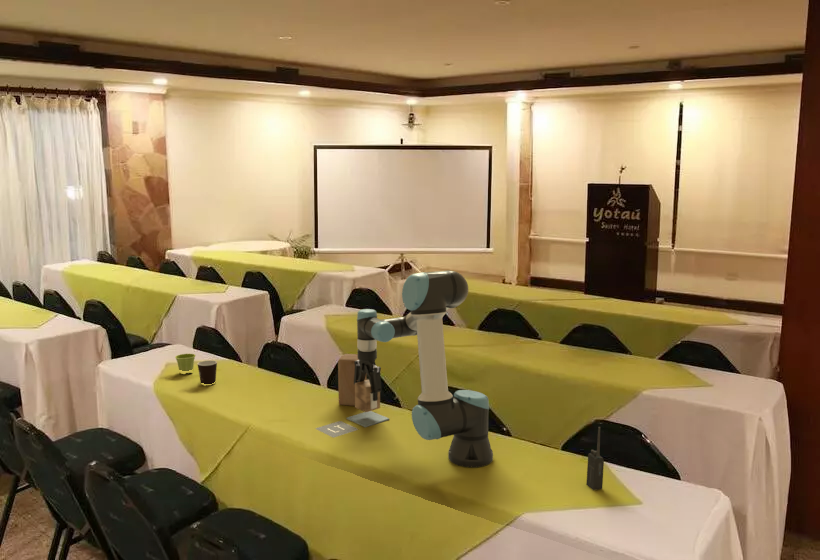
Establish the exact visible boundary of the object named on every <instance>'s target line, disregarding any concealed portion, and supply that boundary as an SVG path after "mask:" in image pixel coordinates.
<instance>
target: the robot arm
mask: <svg viewBox="0 0 820 560" xmlns="http://www.w3.org/2000/svg"><path fill="white" fill-rule="evenodd" d="M468 295H469V285H468V282H467V280H466V278H465V277H464V276H463V275H462V274H461V273H459V272H458V271H454V270H441V271H440V270H439V271H427V272H426V271H425V272H423V271H422V272H417V273H412V274H410V275H409V276H407V278H406V280H405V281H404V283H403V285H402V292H401V298H402V303H403V305H404V307H405V309H407V310H409V311H410V312H409V313H408V314H406V315H404V316H400V317H392V318H384V319H380V318H378V313H377V310H375V309H372V308H371V309H370V308H363V309H359V310H358V311H357V314H356V315H357V316H356V317H357V318H356V327H357V328H356V330H357V331H356V334H357V339H356V342H357V354H358V359H359V360H357V361H354V364H355V371H354V385H355V383H357V382H362V381H364V380H365V376H366V373H367V377H368V380H369V381H370V386H371V390H372V392H370V408H371V409H374V408H377V400H378V392H380V393H381V392H382V380H381V379H382V378H381V369H382V368H381V366H377V364H376V360H377V358H378V355H377V354H378V350H377V346H378V345H377V344H378V343H377V342H381V343H387V342H390V341H391V340H393V339H397V338H403V337H404V338H405V337H412V336H417V337H416V339H417V347H418V349H417V350H418V360H419V362H418V363H419V374H420V387H421V393H420V394H419V396H418V397H417V404H416V405H414V407H412V410H411V419H412V424H413V427H414V429H415V431H416V432H417V434H418V435H419V436H420V437H421V438H422V439H424V440H427V441H432V440H433V441H434V440H440V439H441V438H446V437H447V438H448V437H451V436H453V437H452V439H451V444H450V446H449V449H448V453H447V455H448V456H447V457H448V460H449V462H450V463H452V464H454V465H457V466H459V467H463V468H481V467H485V466H488V465H490V464H491V463H492V462H493V460H494V452H493V449H492V447H491V443H490V439H489V414H490V411H489V410H490V403H489V402H490V401H489V397H488V396H487V395H485V394H484V393H482V392H479V391H475V390H468V389H459V390H455V392H454V393H453V394H452V393H451V392H450V391H449V388H448V385H449V384H448V375H447V373H448V372H447V361H446V349H445V338H444V337H445V336H444V324H443V317H444V316H445V315H446V314H447V311H448V310H449V309H451V310H452V309H455V308H457V307H458V306H460V305H461V304H462V303H464V302H465V301H466V299H467V297H468ZM357 380H358V381H357ZM374 389H375V390H374Z"/></svg>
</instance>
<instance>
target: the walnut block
mask: <svg viewBox="0 0 820 560" xmlns="http://www.w3.org/2000/svg"><path fill="white" fill-rule="evenodd" d="M374 390H375V389H374ZM370 392H372V390H371V386H370V381H369V379H367V380H365V381H362V382H357V383H355V406H354V408H355V409H357V410H360V411H362V412H363V413H364V412H369V411H372V412H373V411H375V410H378V409H380V408H381V392H378V400H377V408H374V409H371V408H370Z"/></svg>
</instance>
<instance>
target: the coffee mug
mask: <svg viewBox="0 0 820 560" xmlns="http://www.w3.org/2000/svg"><path fill="white" fill-rule="evenodd" d="M217 364H218V361H216V360H212V359H210V360H209V359H208V360H201V361H199V362H197V364H196V365H197V368H198V369H197V370H198V375H199V382H200V384H201V383H204V384H212V383H214V382H215V381H216V380H217ZM216 382H217V381H216ZM216 382H215V383H216Z"/></svg>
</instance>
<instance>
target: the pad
mask: <svg viewBox="0 0 820 560" xmlns="http://www.w3.org/2000/svg"><path fill="white" fill-rule="evenodd" d="M346 420H348V421H349V422H353V423H355V424H357V425H359V426H362V427H363V428H368V427H371V426H374V425H377V424H380V423H383V422H386V421H390V418H389V417H387V416H385V415H382V414H379V413H377V412H374V411H373V410H372V411H369V412H364V411H363V412H360V413H357V414H354V415H352V416H351V415H350V416H348V417H346Z"/></svg>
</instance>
